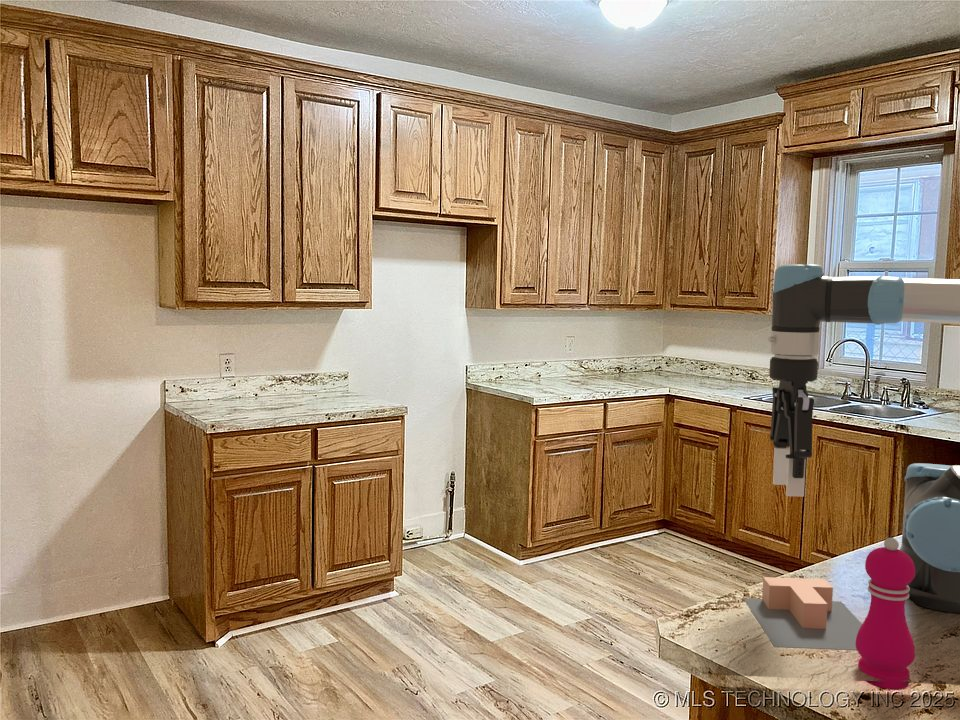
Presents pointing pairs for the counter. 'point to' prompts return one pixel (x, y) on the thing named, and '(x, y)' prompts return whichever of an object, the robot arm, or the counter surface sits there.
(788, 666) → the counter surface
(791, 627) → the mat
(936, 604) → the robot arm
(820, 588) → the t block
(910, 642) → the pepper mill
